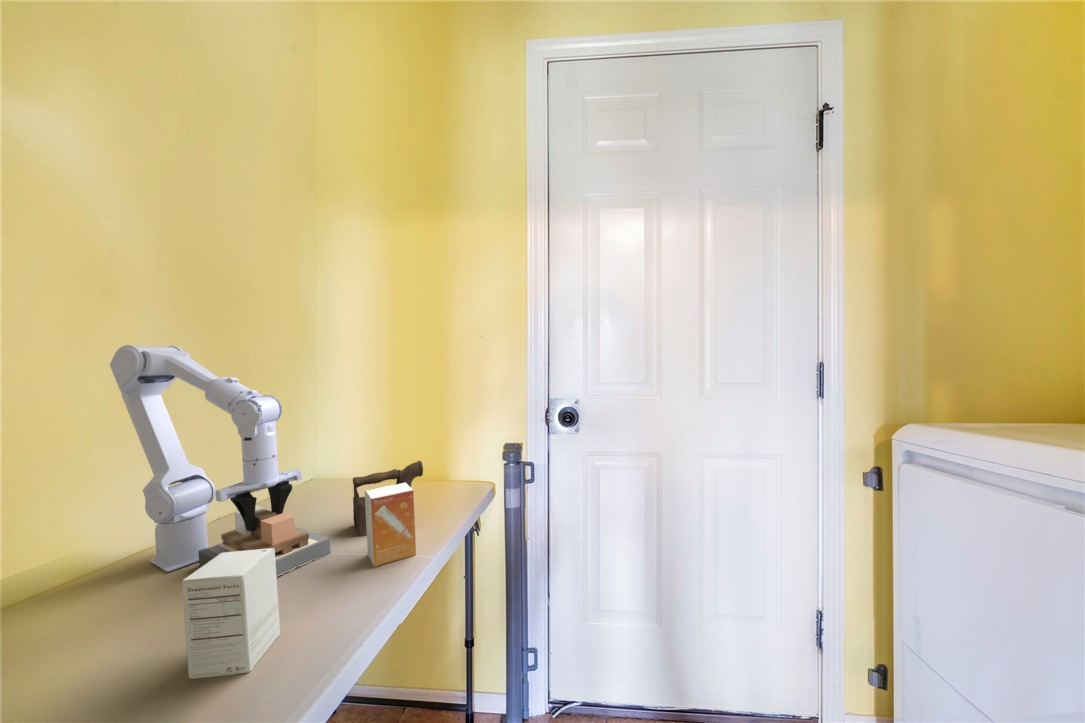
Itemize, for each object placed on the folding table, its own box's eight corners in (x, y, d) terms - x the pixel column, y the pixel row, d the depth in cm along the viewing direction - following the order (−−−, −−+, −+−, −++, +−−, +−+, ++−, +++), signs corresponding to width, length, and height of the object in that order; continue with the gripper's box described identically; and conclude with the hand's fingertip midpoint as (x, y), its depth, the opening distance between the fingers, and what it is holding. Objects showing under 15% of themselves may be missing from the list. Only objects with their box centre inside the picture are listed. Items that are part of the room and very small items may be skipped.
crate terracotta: (261, 541, 77) (260, 520, 77) (284, 533, 80) (283, 513, 80) (272, 545, 75) (271, 524, 75) (295, 536, 78) (293, 516, 78)
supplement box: (227, 639, 57) (221, 551, 57) (282, 634, 58) (277, 546, 58) (185, 681, 50) (179, 579, 50) (249, 674, 50) (243, 574, 50)
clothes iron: (428, 519, 97) (425, 464, 97) (355, 537, 89) (352, 477, 88) (419, 509, 104) (417, 457, 104) (351, 525, 95) (348, 469, 95)
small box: (373, 568, 75) (370, 498, 75) (367, 555, 80) (363, 490, 80) (417, 555, 79) (414, 489, 79) (408, 543, 85) (405, 481, 85)
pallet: (221, 544, 81) (220, 514, 81) (265, 528, 88) (263, 501, 88) (264, 562, 73) (262, 529, 73) (309, 543, 80) (307, 513, 79)
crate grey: (235, 531, 82) (234, 511, 82) (257, 523, 86) (256, 505, 86) (245, 535, 80) (243, 515, 80) (267, 527, 84) (266, 508, 84)
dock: (199, 566, 79) (198, 550, 79) (281, 535, 92) (280, 521, 92) (246, 591, 69) (245, 573, 69) (330, 552, 82) (329, 537, 82)
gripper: (226, 469, 72) (230, 545, 72) (308, 450, 84) (312, 515, 84) (208, 465, 75) (213, 537, 76) (290, 448, 88) (293, 510, 88)
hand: (264, 525), depth 80 cm, fingers open, 4 cm apart
